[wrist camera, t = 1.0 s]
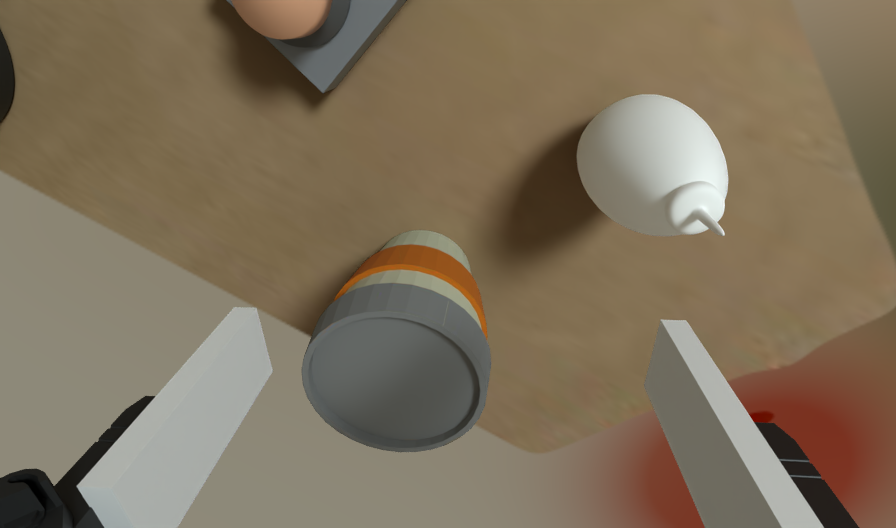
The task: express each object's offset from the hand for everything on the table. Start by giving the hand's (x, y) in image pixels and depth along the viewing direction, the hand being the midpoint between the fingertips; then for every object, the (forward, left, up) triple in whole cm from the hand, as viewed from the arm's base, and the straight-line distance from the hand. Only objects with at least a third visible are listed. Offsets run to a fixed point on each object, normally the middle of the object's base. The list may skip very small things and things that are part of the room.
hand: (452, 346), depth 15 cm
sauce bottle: (+7, +9, -25) cm, 27 cm away
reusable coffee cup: (+5, -11, -25) cm, 27 cm away
